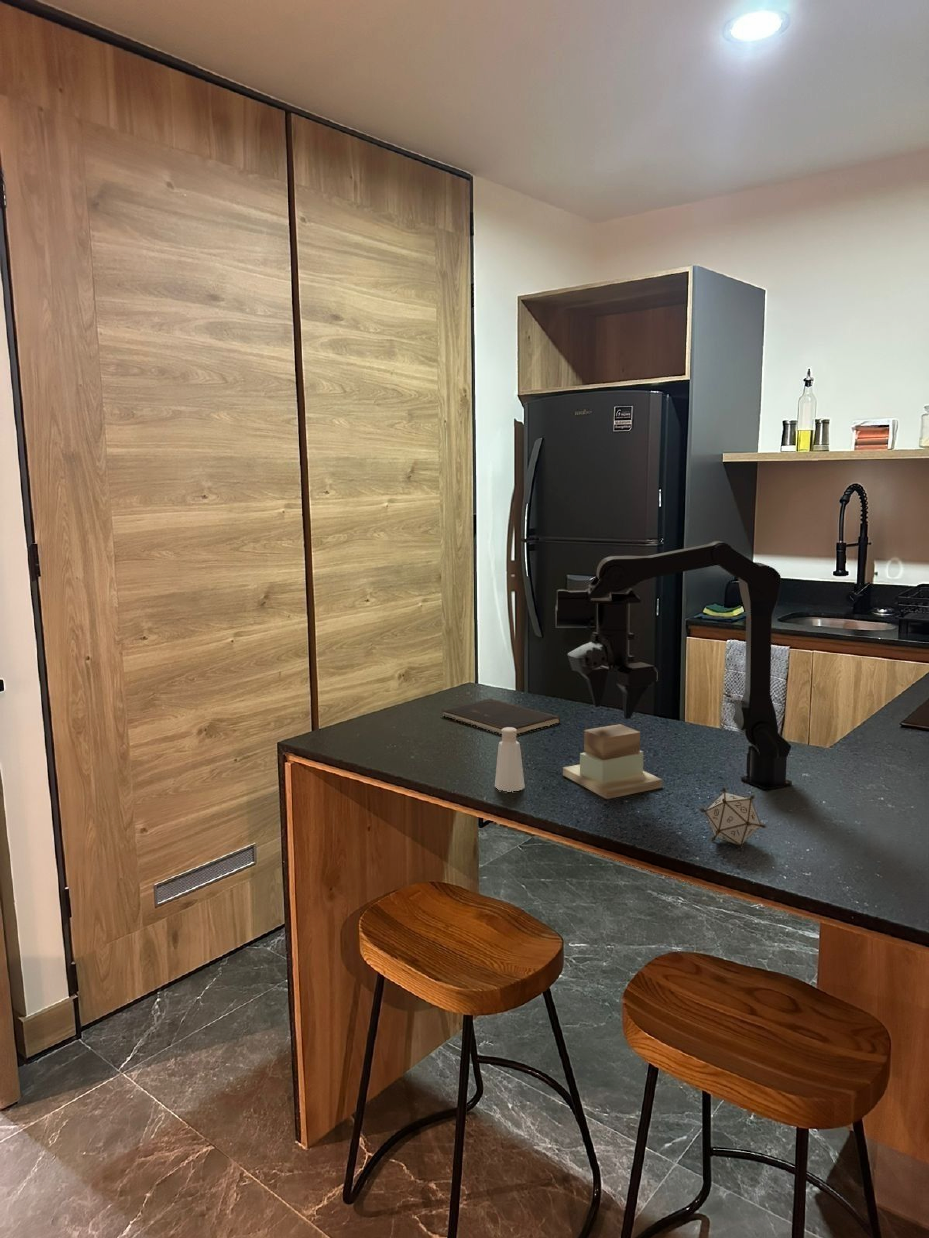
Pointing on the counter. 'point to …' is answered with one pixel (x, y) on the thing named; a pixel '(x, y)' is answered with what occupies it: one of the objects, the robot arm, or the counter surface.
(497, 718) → the hardcover book
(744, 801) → the game die
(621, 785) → the birch board
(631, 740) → the walnut block
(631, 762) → the green block
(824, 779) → the counter surface
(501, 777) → the salt shaker
